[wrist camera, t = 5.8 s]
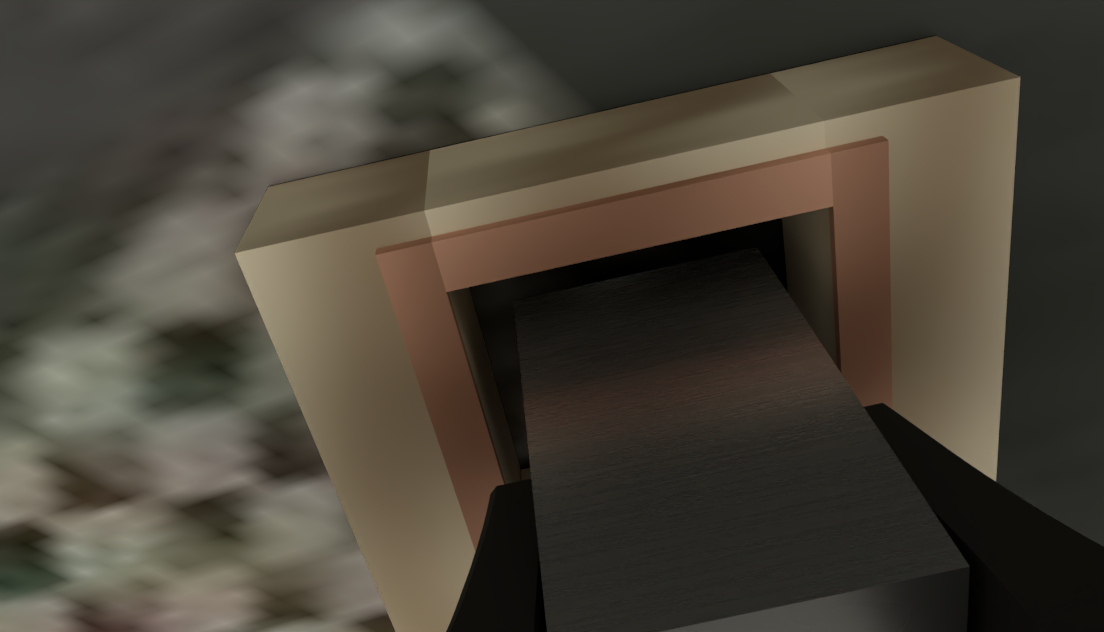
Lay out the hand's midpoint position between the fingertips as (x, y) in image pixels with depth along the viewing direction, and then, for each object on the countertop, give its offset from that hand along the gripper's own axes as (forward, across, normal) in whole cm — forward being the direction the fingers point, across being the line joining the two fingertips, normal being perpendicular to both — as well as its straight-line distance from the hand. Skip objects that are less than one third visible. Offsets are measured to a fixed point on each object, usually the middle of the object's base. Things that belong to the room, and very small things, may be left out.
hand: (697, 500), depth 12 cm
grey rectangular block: (+3, 0, 0) cm, 4 cm away
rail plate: (+5, 0, +5) cm, 7 cm away
